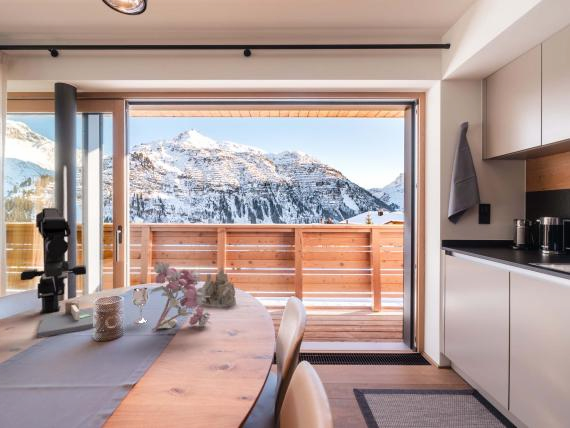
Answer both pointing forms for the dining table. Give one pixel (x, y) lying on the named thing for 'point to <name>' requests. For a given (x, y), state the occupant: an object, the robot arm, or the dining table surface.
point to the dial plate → (65, 323)
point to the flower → (188, 301)
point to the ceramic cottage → (219, 291)
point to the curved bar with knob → (73, 309)
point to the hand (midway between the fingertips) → (55, 296)
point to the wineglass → (140, 301)
